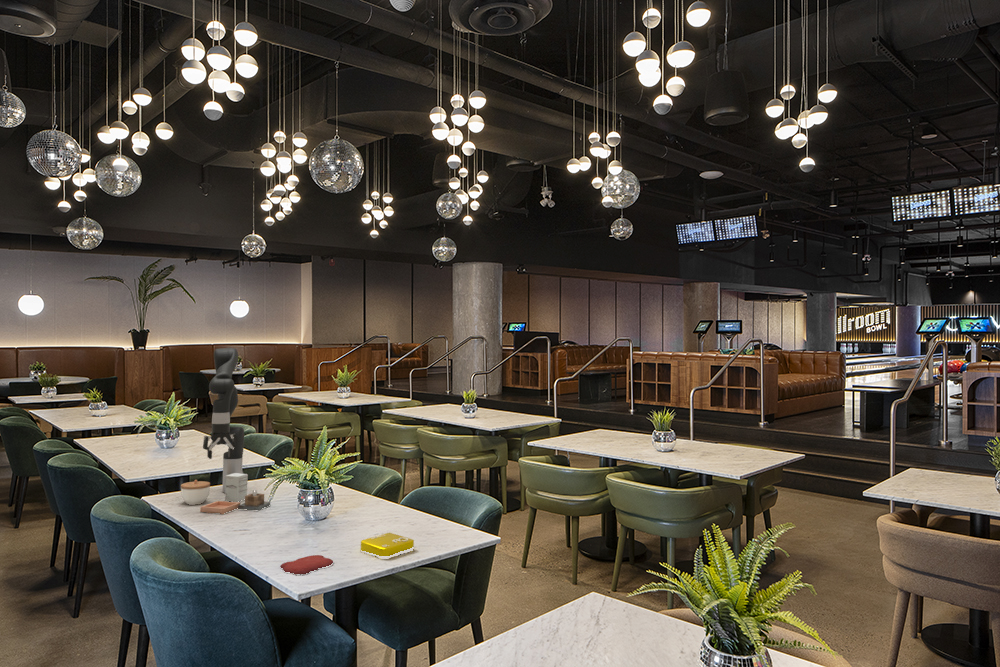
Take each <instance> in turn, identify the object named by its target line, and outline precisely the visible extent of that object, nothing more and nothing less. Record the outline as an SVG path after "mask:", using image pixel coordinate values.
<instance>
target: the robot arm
mask: <svg viewBox="0 0 1000 667" xmlns="http://www.w3.org/2000/svg"><path fill="white" fill-rule="evenodd" d="M213 351H214V352H213V361H214V366H215V367H214V368H215V376H214V377H213V378H211V380H210V381H209V385H208V389H209V392H210V393H211V394H214V395H217V396H218V397H217V399H215V400H213V402H212V417H211V434H210V435H204V436H203V444H202V449H203V450H206V452H207V455H206V456H207V458H208V459H209V460H212V459H213V449H214V447H215V446H218V445H219V446H220V445H225V446H227V447H228V449H227V451H225V452H223V456H222V458H223V459H222V488H221V489H222V493H223V492H224V494H225V487H226V475H230V474H233V473H241V474H244V471H243V460H244V459H243V457H244V444H245V429H244V427H242V426H230V424H231V417H232V414H233V413H234V411H235V410H236V409H237V406H238V403H239V395H238V389H237V387H236V386H235V382H234V380H233V379H232V377H233V373H234V371H235V369H236V368H237V366H238V362H239V352H238V350H237V349H236V348H234V347H226V348H225V347H223V348H215V350H213ZM210 440H211V442H210V443H209V441H210Z"/></svg>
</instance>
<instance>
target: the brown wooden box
mask: <svg viewBox="0 0 1000 667" xmlns="http://www.w3.org/2000/svg"><path fill="white" fill-rule="evenodd" d="M264 501H265V493H258V492H257V496H253V492H252V493H249V494H247V495H246V496H245V500H244V503H245V505H255V506H257V505H259V504H262V503H264Z"/></svg>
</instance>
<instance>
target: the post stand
mask: <svg viewBox="0 0 1000 667" xmlns="http://www.w3.org/2000/svg"><path fill="white" fill-rule="evenodd" d="M252 493H253V496H257V493H258V490H257V489H254V490H252ZM269 505H270V506H271V501H265V500H264V503H262V504H259V505H257V506H255V505H245V502H244V503H241V504H240V505H238V509H247V510H259V509H262V508H264V507H267V506H269ZM270 506H269V507H270ZM267 508H268V507H267ZM238 509H237V510H238ZM247 510H246V511H247ZM262 510H263V509H262Z"/></svg>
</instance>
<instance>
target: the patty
mask: <svg viewBox="0 0 1000 667" xmlns="http://www.w3.org/2000/svg"><path fill="white" fill-rule="evenodd" d="M333 561H334V560H332V559H331V558H329V557H325V556H323V555H321V554H320V555H319V554H316V555H315V554H314V555H308V556H304V557H299V558H297V559H296V560H293V561H292V560H291V561H287V562H283V563H282V564H281V565H280V567H281V568H283V569H282V571H283V570H284V571H285V572H290V573H294V574H306V573H309V572H310V571H314V570H317V569H318V568H322V567H326V566H329V565H331V564H332V563H333ZM281 568H280V569H281ZM318 570H319V569H318ZM318 570H317V571H318ZM285 572H284V573H285ZM314 572H315V571H314ZM310 573H311V572H310ZM310 573H309V574H310ZM294 574H293V575H294Z"/></svg>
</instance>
